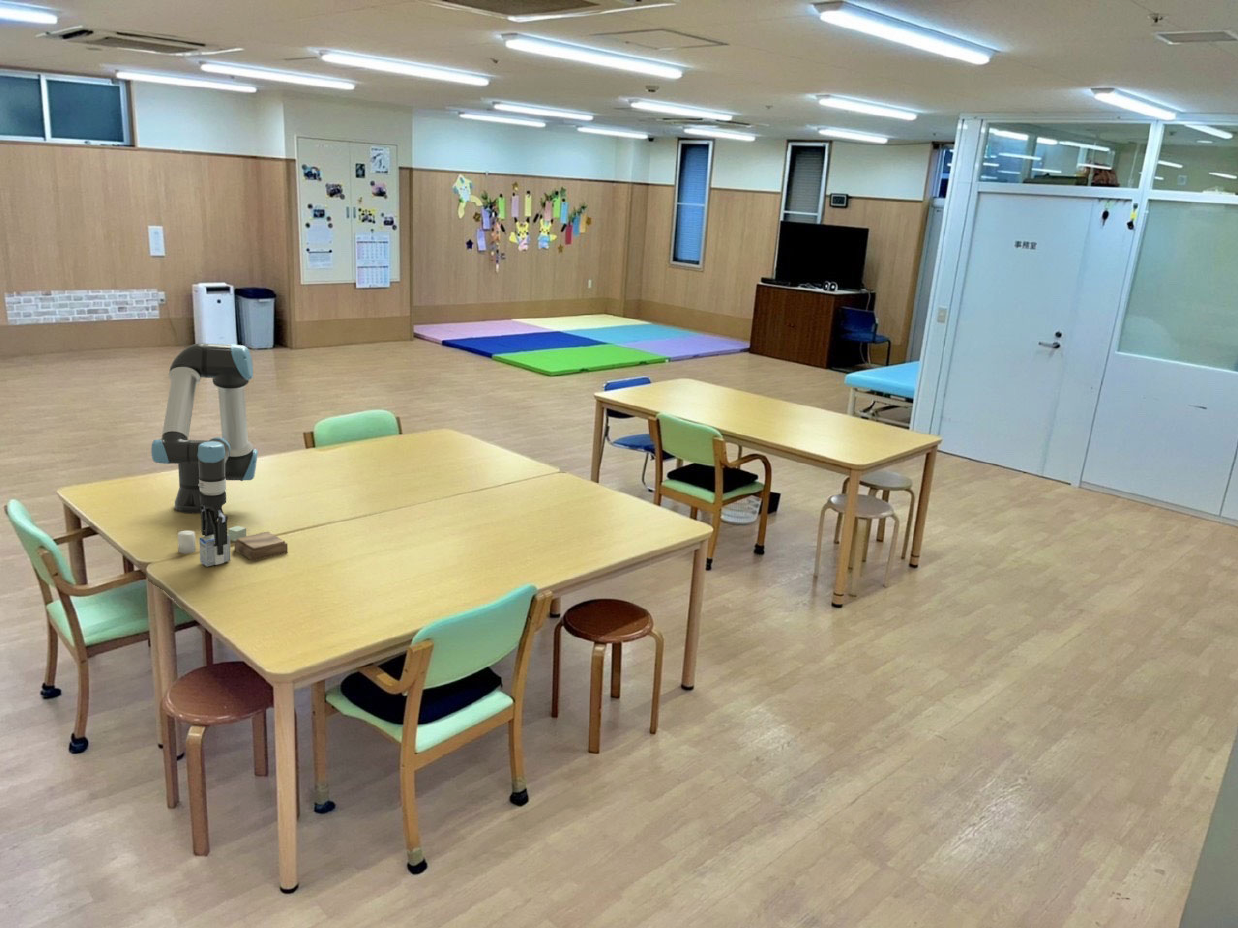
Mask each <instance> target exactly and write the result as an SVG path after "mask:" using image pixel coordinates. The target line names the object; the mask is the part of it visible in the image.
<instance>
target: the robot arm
mask: <svg viewBox="0 0 1238 928" xmlns="http://www.w3.org/2000/svg"><path fill="white" fill-rule="evenodd" d="M168 377H169V380H170V387H169V392H168V398H167V404H166V410H165V416H164V421H163V427H162V433H161V438H159V439H154V440H153V441H152V443H151V448H150V450H151V451H150V453H151V458H152V462H154V463H156V464H164V465H170V464H174V465H177V469H178V490H177V493H176V497H175V500H174V509H175V510H176V511H178V512H179V513H185V514H200V522H201V536H204V537H205V536H209V535H213V534H214V538H215V544H213V546H214V563H215V565H216V566H217V565H221V564H224V563H225V562H224V547H223V545H226V544H227V535H228V519H229V517H228V515H227V514H226V515H224V510H223V506H224V505H225V504H227V492H226V491H227V481H240V482H243V481H252V480H253V479H254V478H255V474H256V470H257V461H258V453H259V452H258V451H259V450H258V449H256V448H254V445H253V444H252V442H251V441H249V435H248V422H247V421H248V420H247V406H246V405H247V404H246V390H245V387H246V386H247V385H248V384H249V383H250V382H249V381H250V380H252V379H253V377H254V368H253V358H252V354H251V351H250V349H249V348H248V347H247V345H241V344H235V343H233V344H226V343H223V344H222V343H221V344H219V343H203V342H201V343H200V342H199V343H194V344H191V345H189V346H188V347H186V348H184V349H182V350H181V351H180V352H179V353H178V355H177V356H176V357H175V358H174V360H173V361H172V362H171V365H170V368H169V373H168ZM202 378H203V379H212V384H213V385H214V386H215V387H217V391H218V393H217V394H218V405H219V407H218V408H219V417H220V429H221V430H220V431H221V437H219V436H218V437H213V438H210V439H209V440H207V439H206V440H205V439H201V440H199V439H198V440H196V439H189V435H190V429H191V422H192V418H193V417H192V416H193V409H194V402H195V396H196V389H197V385H199V384H200V382H201V379H202Z"/></svg>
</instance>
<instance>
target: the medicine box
mask: <svg viewBox="0 0 1238 928" xmlns="http://www.w3.org/2000/svg"><path fill="white" fill-rule="evenodd" d="M198 539H199V540H198V541H199V561H200V563H201V564H202V565H204V566H205V567H211V566H214V565H215V563H214V546H213V544H215V538H214V534H213V535H209V536H205V535H204V536H201V537H199V538H198ZM223 547H224V563H226V562H230V561H231V559H232V558H231V540H230V536H228V534H227V544H226V545H223Z"/></svg>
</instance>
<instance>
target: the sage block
mask: <svg viewBox="0 0 1238 928" xmlns="http://www.w3.org/2000/svg"><path fill="white" fill-rule="evenodd" d="M227 535H228V536H230V542H234V543H235V540H237V538H242V537H246V536H247V527H243V526H241V525H235V526H232V527H229V528H227Z"/></svg>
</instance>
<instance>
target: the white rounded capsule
mask: <svg viewBox="0 0 1238 928" xmlns="http://www.w3.org/2000/svg"><path fill="white" fill-rule="evenodd" d="M177 544H178V547H177V548H178V553H180V554H191V553H194V552H195V551H196V532H195V531H193V530H181V531H179V532H178V533H177Z"/></svg>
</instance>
